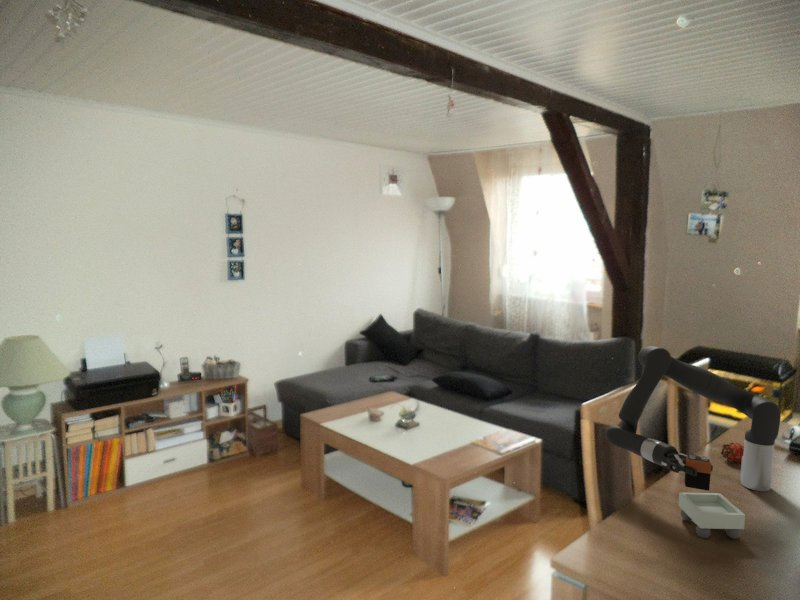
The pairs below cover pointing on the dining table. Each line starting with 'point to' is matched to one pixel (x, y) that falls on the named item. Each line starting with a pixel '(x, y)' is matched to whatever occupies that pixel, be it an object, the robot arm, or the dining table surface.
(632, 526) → the dining table surface
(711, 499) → the cart
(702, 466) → the battery
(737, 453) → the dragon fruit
